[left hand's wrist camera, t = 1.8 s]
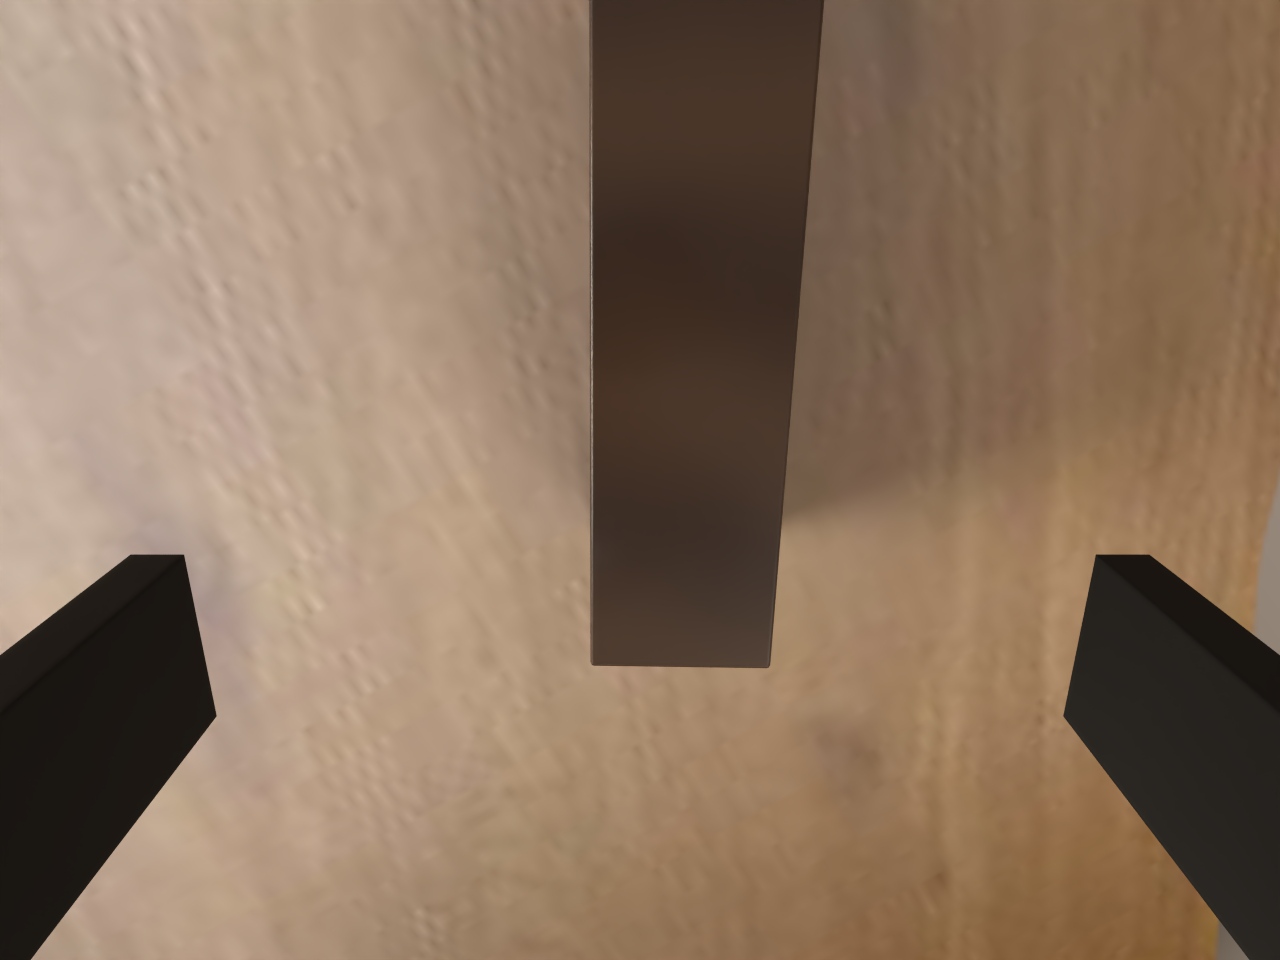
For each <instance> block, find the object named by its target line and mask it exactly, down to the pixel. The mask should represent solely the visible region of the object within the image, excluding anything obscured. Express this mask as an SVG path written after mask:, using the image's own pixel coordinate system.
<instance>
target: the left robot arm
mask: <svg viewBox="0 0 1280 960" xmlns="http://www.w3.org/2000/svg"><path fill="white" fill-rule="evenodd" d="M215 718H216V711H215V706H214V701H213V696H212V691H211V686H210V681H209V676H208V671H207V666H206V661H205V656H204V651H203V647H202V642H201V637H200V632H199V627H198V622H197V617H196V612H195V607H194V602H193V597H192V592H191V587H190V582H189V577H188V572H187V567H186V562H185V557H184V555H130V556H128V557H127V558H126V559H124V560H123V561H122V562H121V563H119V564H118V565H117V566H115V567H114V568H113V569H111V570H110V571H109V572H108V573H106V574H105V575H104V576H102V577H101V578H100V579H99V580H97V581H96V582H95V583H93V584H92V585H91V586H89V587H88V588H87V589H86V590H84V591H83V592H82V593H80V594H79V595H78V596H76V597H75V598H74V599H73V600H71V601H70V602H69V603H67V604H66V605H65V606H63V607H62V608H61V609H60V610H58V611H57V612H56V613H54V614H53V615H52V616H51V617H49V618H48V619H47V620H45V621H44V622H43V623H41V624H40V625H39V626H38V627H36V628H35V629H34V630H32V631H31V632H30V633H28V634H27V635H26V636H25V637H23V638H22V639H21V640H19V641H18V642H17V643H16V644H14V645H13V646H12V647H10V648H9V649H8V650H6V651H5V652H4V653H3V654H1V655H0V960H31V958H32V957H33V956H34V955H35V953H36V952H37V951H38V949H39V948H40V947H41V945H42V944H43V943H44V941H45V940H46V939H47V938H48V936H49V935H50V934H51V932H52V931H53V930H54V928H55V927H56V926H57V924H58V923H59V922H60V920H61V919H62V918H63V917H64V915H65V914H66V913H67V911H68V910H69V909H70V907H71V906H72V905H73V903H74V902H75V901H76V900H77V898H78V897H79V896H80V894H81V893H82V892H83V890H84V889H85V888H86V886H87V885H88V884H89V883H90V881H91V880H92V879H93V877H94V876H95V875H96V873H97V872H98V871H99V869H100V868H101V867H102V866H103V864H104V863H105V862H106V860H107V859H108V858H109V856H110V855H111V854H112V852H113V851H114V850H115V849H116V847H117V846H118V845H119V843H120V842H121V841H122V839H123V838H124V837H125V835H126V834H127V833H128V831H129V830H130V829H131V828H132V826H133V825H134V824H135V822H136V821H137V820H138V818H139V817H140V816H141V814H142V813H143V812H144V811H145V809H146V808H147V807H148V805H149V804H150V803H151V801H152V800H153V799H154V797H155V796H156V795H157V794H158V792H159V791H160V790H161V788H162V787H163V786H164V784H165V783H166V782H167V780H168V779H169V778H170V777H171V775H172V774H173V773H174V771H175V770H176V769H177V767H178V766H179V765H180V763H181V762H182V761H183V760H184V758H185V757H186V756H187V754H188V753H189V752H190V750H191V749H192V748H193V746H194V745H195V744H196V742H197V741H198V740H199V739H200V737H201V736H202V735H203V733H204V732H205V731H206V729H207V728H208V727H209V725H210V724H211V723H212V722H213V720H214V719H215ZM1064 718H1065V719H1066V720H1067V722H1068V723H1069V724H1070V725H1071V727H1072V728H1073V729H1074V731H1075V732H1076V733H1077V735H1078V736H1079V737H1080V739H1081V740H1082V741H1083V742H1084V744H1085V745H1086V746H1087V748H1088V749H1089V750H1090V752H1091V753H1092V754H1093V756H1094V757H1095V758H1096V760H1097V761H1098V762H1099V763H1100V765H1101V766H1102V767H1103V769H1104V770H1105V771H1106V773H1107V774H1108V775H1109V777H1110V778H1111V779H1112V780H1113V782H1114V783H1115V784H1116V786H1117V787H1118V788H1119V790H1120V791H1121V792H1122V794H1123V795H1124V796H1125V797H1126V799H1127V800H1128V801H1129V803H1130V804H1131V805H1132V807H1133V808H1134V809H1135V811H1136V812H1137V813H1138V814H1139V816H1140V817H1141V818H1142V820H1143V821H1144V822H1145V824H1146V825H1147V826H1148V828H1149V829H1150V830H1151V831H1152V833H1153V834H1154V835H1155V837H1156V838H1157V839H1158V841H1159V842H1160V843H1161V845H1162V846H1163V847H1164V849H1165V850H1166V851H1167V852H1168V854H1169V855H1170V856H1171V858H1172V859H1173V860H1174V862H1175V863H1176V864H1177V866H1178V867H1179V868H1180V869H1181V871H1182V872H1183V873H1184V875H1185V876H1186V877H1187V879H1188V880H1189V881H1190V883H1191V884H1192V885H1193V886H1194V888H1195V889H1196V890H1197V892H1198V893H1199V894H1200V896H1201V897H1202V898H1203V900H1204V901H1205V902H1206V903H1207V905H1208V906H1209V907H1210V909H1211V910H1212V911H1213V913H1214V914H1215V915H1216V917H1217V918H1218V919H1219V920H1220V922H1221V923H1222V924H1223V926H1224V927H1225V928H1226V930H1227V931H1228V932H1229V934H1230V935H1231V936H1232V938H1233V939H1234V940H1235V941H1236V943H1237V944H1238V945H1239V947H1240V948H1241V949H1242V951H1243V952H1244V953H1245V955H1246V956H1247V957H1248V958H1249V960H1280V655H1279V654H1277V653H1276V652H1275V651H1274V650H1272V649H1271V648H1270V647H1268V646H1267V645H1266V644H1264V643H1263V642H1262V641H1261V640H1259V639H1258V638H1257V637H1255V636H1254V635H1253V634H1252V633H1250V632H1249V631H1248V630H1246V629H1245V628H1244V627H1242V626H1241V625H1240V624H1239V623H1237V622H1236V621H1235V620H1233V619H1232V618H1231V617H1229V616H1228V615H1227V614H1226V613H1224V612H1223V611H1222V610H1220V609H1219V608H1218V607H1217V606H1215V605H1214V604H1213V603H1211V602H1210V601H1209V600H1207V599H1206V598H1205V597H1204V596H1202V595H1201V594H1200V593H1198V592H1197V591H1196V590H1194V589H1193V588H1192V587H1191V586H1189V585H1188V584H1187V583H1185V582H1184V581H1183V580H1181V579H1180V578H1179V577H1178V576H1176V575H1175V574H1174V573H1172V572H1171V571H1170V570H1169V569H1167V568H1166V567H1165V566H1163V565H1162V564H1161V563H1159V562H1158V561H1157V560H1156V559H1154V558H1153V557H1152V556H1150V555H1096V557H1095V562H1094V567H1093V572H1092V577H1091V582H1090V587H1089V592H1088V597H1087V602H1086V607H1085V612H1084V617H1083V622H1082V627H1081V632H1080V637H1079V642H1078V647H1077V651H1076V656H1075V661H1074V666H1073V671H1072V676H1071V681H1070V686H1069V691H1068V696H1067V701H1066V706H1065V711H1064Z"/></svg>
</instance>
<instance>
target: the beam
mask: <svg viewBox="0 0 1280 960" xmlns="http://www.w3.org/2000/svg"><path fill="white" fill-rule="evenodd" d="M823 8H824V0H589V12H590V605H591V664H592V665H594V666H659V667H728V668H768V667H769V666H770V660H771V648H772V636H773V623H774V611H775V599H776V586H777V574H778V562H779V549H780V537H781V525H782V513H783V500H784V488H785V476H786V463H787V451H788V439H789V426H790V414H791V402H792V389H793V377H794V365H795V353H796V340H797V328H798V316H799V303H800V291H801V279H802V266H803V254H804V242H805V229H806V217H807V205H808V193H809V180H810V168H811V156H812V143H813V131H814V119H815V106H816V94H817V82H818V70H819V57H820V45H821V33H822V20H823Z"/></svg>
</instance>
